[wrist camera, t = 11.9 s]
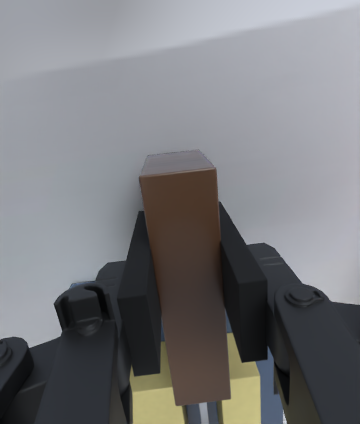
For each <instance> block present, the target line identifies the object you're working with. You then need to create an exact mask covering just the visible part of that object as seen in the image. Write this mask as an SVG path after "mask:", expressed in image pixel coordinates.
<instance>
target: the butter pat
mask: <svg viewBox="0 0 360 424" xmlns="http://www.w3.org/2000/svg"><path fill="white" fill-rule="evenodd" d="M227 340H228V356H229V371H230V387H231V399H230V400H222V401H216V402H217V413H218V424H261V399H260V374H259V371H258V369H257V366H256V363H255V361H254V362H246V363H242V362H241V359H240V356H239V352H238V349H237V346H236V343H235V339H234V336H233V333H227Z"/></svg>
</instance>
